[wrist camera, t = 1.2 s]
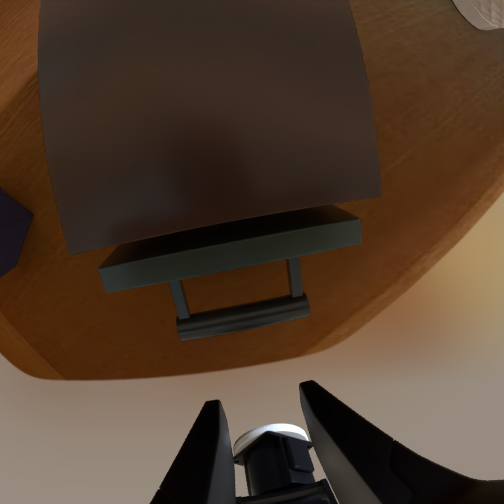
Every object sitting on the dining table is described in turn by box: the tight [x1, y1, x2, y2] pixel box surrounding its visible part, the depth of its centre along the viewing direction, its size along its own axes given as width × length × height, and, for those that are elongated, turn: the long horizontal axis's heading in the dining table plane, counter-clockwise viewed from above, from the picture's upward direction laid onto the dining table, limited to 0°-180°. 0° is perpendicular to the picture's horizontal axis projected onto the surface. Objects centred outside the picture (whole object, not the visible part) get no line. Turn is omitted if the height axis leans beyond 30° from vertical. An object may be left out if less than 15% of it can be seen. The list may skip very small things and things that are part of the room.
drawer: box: [98, 204, 362, 341], centre depth 14 cm, size 18×11×7 cm, turn 9°
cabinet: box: [38, 0, 382, 255], centre depth 12 cm, size 15×13×9 cm
